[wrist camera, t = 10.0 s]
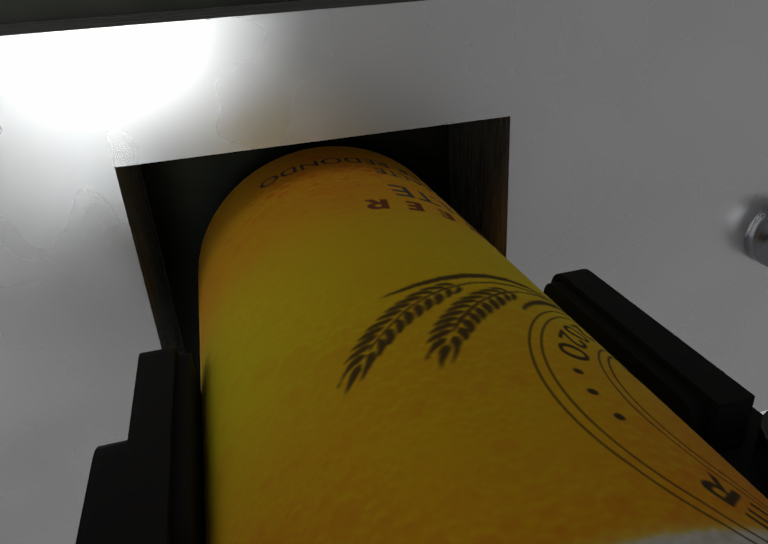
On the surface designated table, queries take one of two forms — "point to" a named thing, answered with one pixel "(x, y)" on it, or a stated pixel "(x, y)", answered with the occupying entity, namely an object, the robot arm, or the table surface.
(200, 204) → the table surface
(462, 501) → the beer can
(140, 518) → the robot arm
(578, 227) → the gray block with hole
